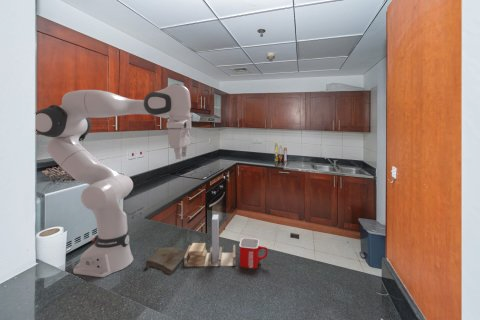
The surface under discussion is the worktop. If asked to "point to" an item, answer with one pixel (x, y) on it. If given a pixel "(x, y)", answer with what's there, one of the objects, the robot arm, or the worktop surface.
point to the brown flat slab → (167, 259)
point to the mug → (250, 252)
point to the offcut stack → (197, 254)
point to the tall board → (215, 238)
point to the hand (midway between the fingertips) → (181, 157)
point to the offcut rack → (223, 259)
